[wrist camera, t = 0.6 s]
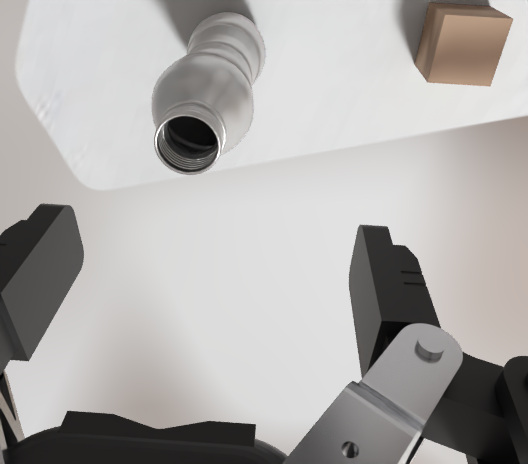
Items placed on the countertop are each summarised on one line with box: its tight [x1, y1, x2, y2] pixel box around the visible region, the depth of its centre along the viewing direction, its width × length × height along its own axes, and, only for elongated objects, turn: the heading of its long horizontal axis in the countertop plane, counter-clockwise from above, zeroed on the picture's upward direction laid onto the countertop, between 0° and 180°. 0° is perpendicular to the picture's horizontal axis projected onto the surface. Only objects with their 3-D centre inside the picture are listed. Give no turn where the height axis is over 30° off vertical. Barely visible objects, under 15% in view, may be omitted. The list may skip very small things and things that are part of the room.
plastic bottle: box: [152, 12, 266, 175], centre depth 32 cm, size 6×7×20 cm
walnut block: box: [415, 3, 513, 86], centre depth 37 cm, size 5×5×5 cm
